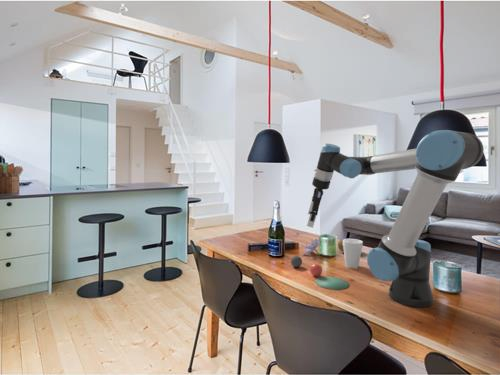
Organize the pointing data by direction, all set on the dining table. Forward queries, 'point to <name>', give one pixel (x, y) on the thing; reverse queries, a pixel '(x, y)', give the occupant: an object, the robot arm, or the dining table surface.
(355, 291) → the dining table surface
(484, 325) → the dining table surface
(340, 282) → the green mark
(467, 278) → the dining table surface
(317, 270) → the red ball
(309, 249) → the water lily
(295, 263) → the dark gray ball
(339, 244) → the potato
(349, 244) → the foam cup
